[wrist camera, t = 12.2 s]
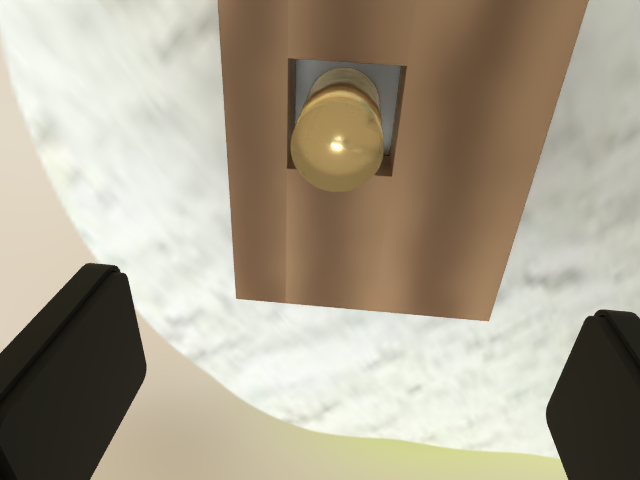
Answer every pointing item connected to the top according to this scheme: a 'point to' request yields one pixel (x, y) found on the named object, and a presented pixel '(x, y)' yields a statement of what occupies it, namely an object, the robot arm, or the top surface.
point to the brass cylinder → (339, 132)
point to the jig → (392, 148)
